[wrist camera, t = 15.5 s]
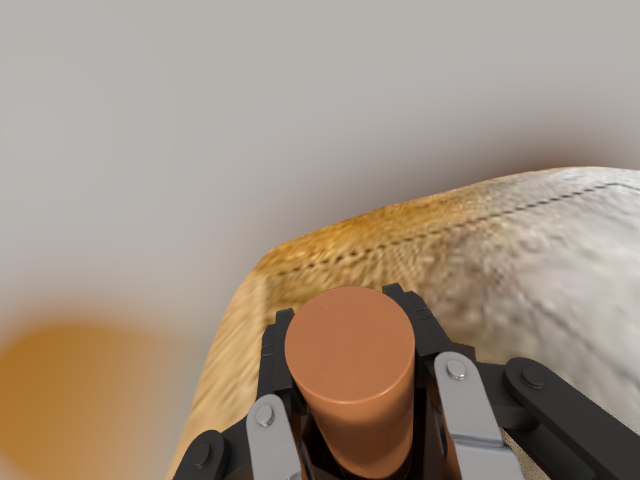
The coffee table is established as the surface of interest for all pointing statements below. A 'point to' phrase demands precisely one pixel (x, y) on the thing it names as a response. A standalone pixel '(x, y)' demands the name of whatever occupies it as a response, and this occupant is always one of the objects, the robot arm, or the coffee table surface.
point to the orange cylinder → (357, 378)
